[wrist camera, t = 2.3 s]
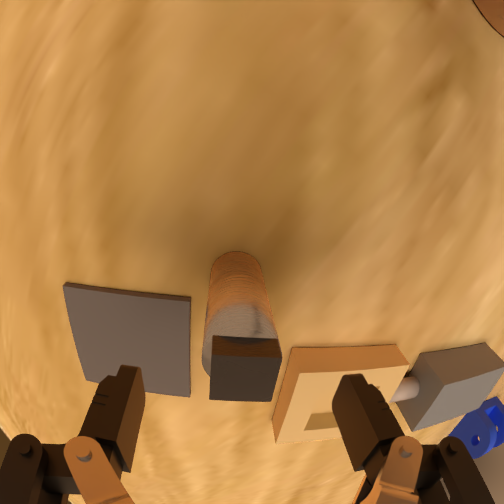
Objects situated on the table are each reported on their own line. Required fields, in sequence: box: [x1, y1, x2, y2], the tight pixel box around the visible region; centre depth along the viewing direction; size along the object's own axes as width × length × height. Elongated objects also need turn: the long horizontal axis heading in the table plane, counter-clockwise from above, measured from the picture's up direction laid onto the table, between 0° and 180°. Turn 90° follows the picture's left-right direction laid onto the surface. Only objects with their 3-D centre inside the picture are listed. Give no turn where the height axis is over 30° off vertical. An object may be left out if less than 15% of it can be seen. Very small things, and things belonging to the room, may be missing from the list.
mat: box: [63, 283, 191, 397], centre depth 21 cm, size 10×10×1 cm
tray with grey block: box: [272, 343, 504, 444], centre depth 23 cm, size 26×10×5 cm, turn 83°
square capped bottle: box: [202, 251, 282, 402], centre depth 15 cm, size 3×3×10 cm
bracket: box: [448, 396, 504, 459], centre depth 31 cm, size 18×8×9 cm, turn 172°
